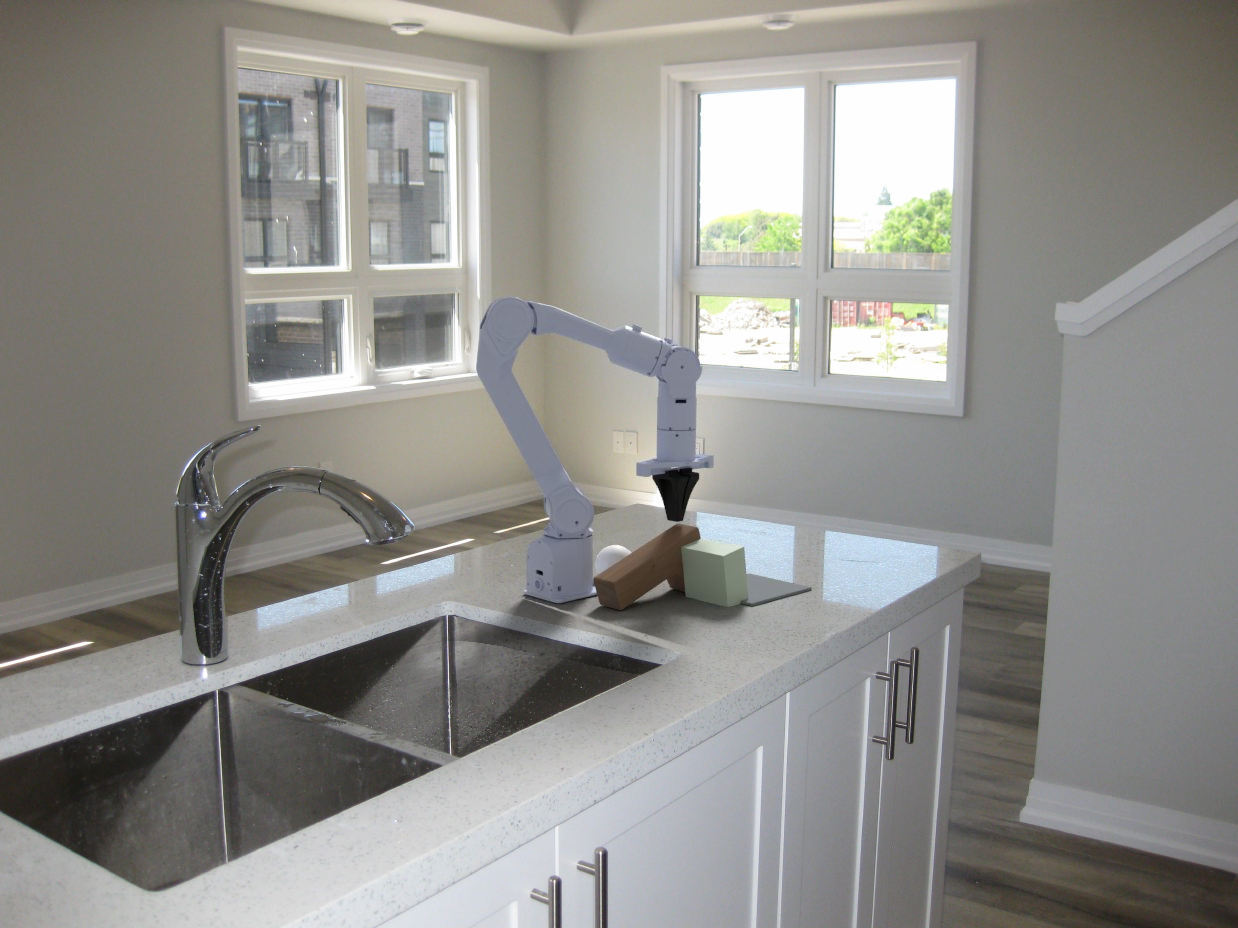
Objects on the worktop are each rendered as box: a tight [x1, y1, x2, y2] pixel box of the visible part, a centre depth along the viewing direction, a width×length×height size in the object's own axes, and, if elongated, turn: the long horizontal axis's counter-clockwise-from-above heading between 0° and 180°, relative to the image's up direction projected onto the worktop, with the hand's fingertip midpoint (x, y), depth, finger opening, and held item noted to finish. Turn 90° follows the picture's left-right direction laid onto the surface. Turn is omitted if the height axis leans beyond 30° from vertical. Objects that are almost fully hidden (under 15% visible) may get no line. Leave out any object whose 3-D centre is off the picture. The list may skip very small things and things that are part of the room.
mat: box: [740, 573, 813, 607], centre depth 171 cm, size 14×12×1 cm
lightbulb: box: [594, 544, 632, 576], centre depth 177 cm, size 6×6×11 cm
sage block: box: [681, 537, 748, 608], centre depth 165 cm, size 4×8×8 cm, turn 44°
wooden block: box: [593, 523, 702, 611], centre depth 165 cm, size 9×4×18 cm
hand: (675, 520), depth 170 cm, fingers closed
